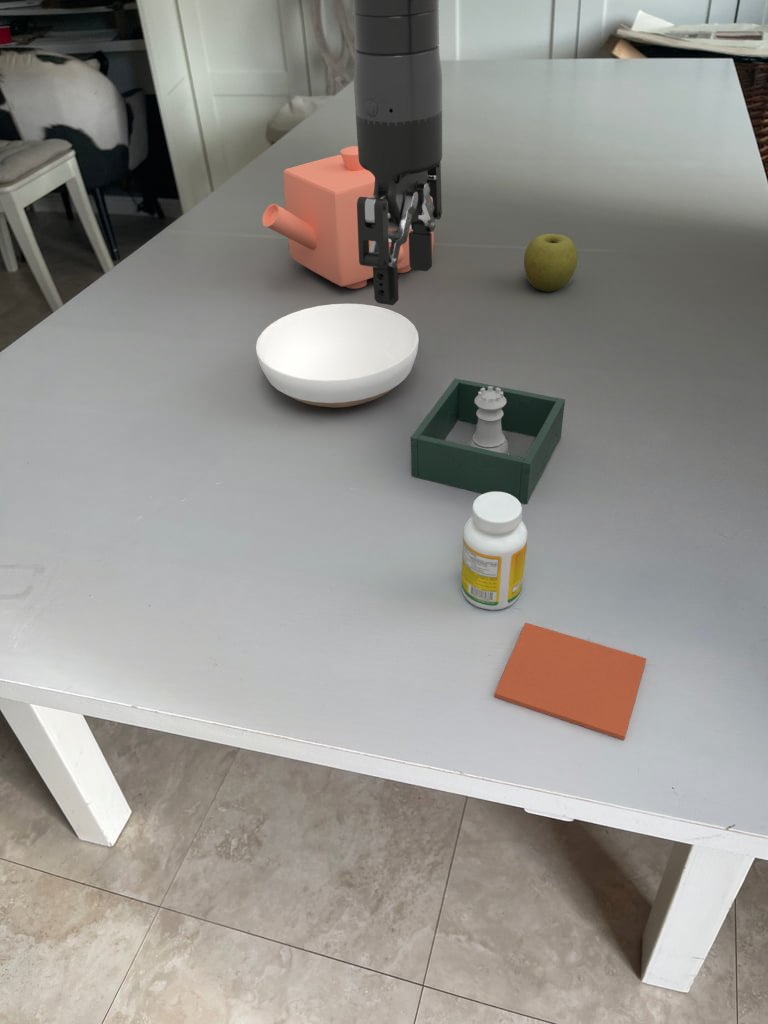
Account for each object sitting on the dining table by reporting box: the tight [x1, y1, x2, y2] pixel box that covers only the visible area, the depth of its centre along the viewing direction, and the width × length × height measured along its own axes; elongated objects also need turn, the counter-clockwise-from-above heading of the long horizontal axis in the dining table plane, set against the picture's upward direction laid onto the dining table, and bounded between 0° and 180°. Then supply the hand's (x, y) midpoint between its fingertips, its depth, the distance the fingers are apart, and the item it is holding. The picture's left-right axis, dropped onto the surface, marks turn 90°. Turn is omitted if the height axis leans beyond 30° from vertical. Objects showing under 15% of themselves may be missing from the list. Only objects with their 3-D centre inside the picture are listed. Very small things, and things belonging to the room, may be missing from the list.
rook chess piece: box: [467, 385, 510, 455], centre depth 85 cm, size 4×4×8 cm
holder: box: [409, 378, 566, 505], centre depth 85 cm, size 13×13×5 cm
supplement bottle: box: [460, 492, 528, 611], centre depth 68 cm, size 5×5×10 cm
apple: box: [523, 233, 579, 293], centre depth 117 cm, size 8×8×7 cm
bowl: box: [255, 303, 420, 409], centre depth 98 cm, size 20×20×6 cm
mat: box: [493, 622, 647, 741], centre depth 63 cm, size 10×8×1 cm
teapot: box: [262, 145, 435, 290], centre depth 120 cm, size 25×23×18 cm
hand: (404, 285), depth 80 cm, fingers open, 8 cm apart
